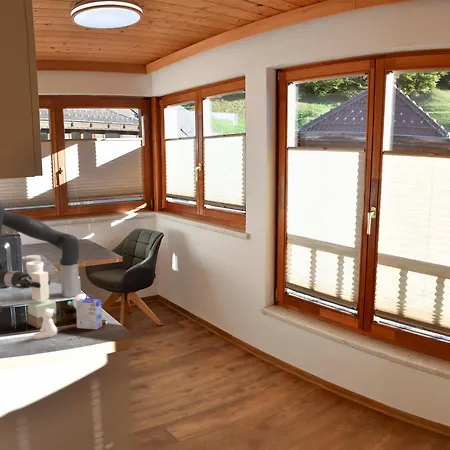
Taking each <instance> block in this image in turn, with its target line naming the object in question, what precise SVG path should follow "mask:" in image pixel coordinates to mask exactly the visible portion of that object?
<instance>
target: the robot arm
mask: <svg viewBox="0 0 450 450" xmlns="http://www.w3.org/2000/svg"><path fill="white" fill-rule="evenodd" d="M3 226H5V227H8V228H9V229H12V230H14V231H16V232H18V233H20V234H23V235H25V236H28V237H30V238H32V239H36V240H39V241H44V242H46V243H48V244H50V245H52V246H55V247H56V248H57V249H60V250H61V256H62V257H61V258H60V259H59V266H60V267H59V269H60V270H59V272H60V273H59V274H60V286H61V287H60V289H61V297H64V298H71V297H76V296H77V295H79V294H82V290H81V287H82V286H81V276H80V275H79V258H80V243H79V239H78V237H77V236H75V235H74V234H69V233H65V232H61V231H58V230H56V229H53V228H51V227H50V226H49V225H47V224H45V222H44V223H43V222H42V221H40V220H38V219H36V218H33V217H31V216H29V215H23V214H18V213H14V212H10V211H8V210H6V209H5V205H4V204H3V202H2V201H0V245H1V242H2V241H1V238H2V229H3ZM48 284H49V286H50V285H51V280H50V279H48ZM0 285H2V286H7V287H10V288H15V289H20V290H23V289H30V288H31V289H32V288H33V287H36V288H40V287H41V284H40V283H37V282H32V278H31V276H30V275H29V274H28V273H27V272H24V271H18V270H7V269H4V267H3V263H2V260H1V258H0Z"/></svg>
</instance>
